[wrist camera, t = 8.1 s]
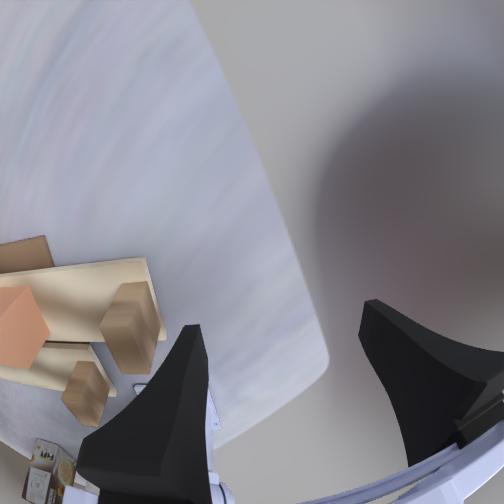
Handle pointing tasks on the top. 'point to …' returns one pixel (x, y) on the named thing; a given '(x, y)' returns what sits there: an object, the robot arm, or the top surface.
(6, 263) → the board
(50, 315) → the slat
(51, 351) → the empty slat
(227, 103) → the top surface
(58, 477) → the coffee box
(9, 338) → the block
